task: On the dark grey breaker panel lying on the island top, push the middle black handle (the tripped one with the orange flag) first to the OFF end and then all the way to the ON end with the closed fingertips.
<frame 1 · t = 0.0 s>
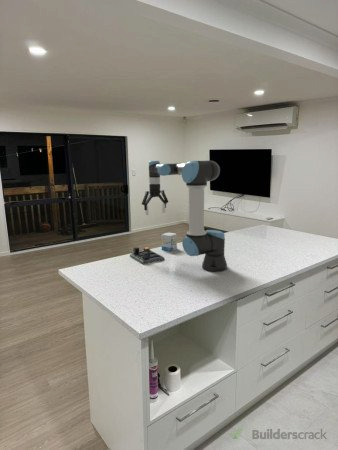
hand: (155, 213, 223), 28 cm above the counter, fingers open, 13 cm apart
ink box: (169, 249, 236), on the counter
panel: (146, 258, 215), on the counter
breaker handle: (146, 251, 214), point 5 cm above the counter, slide at 0.0 cm
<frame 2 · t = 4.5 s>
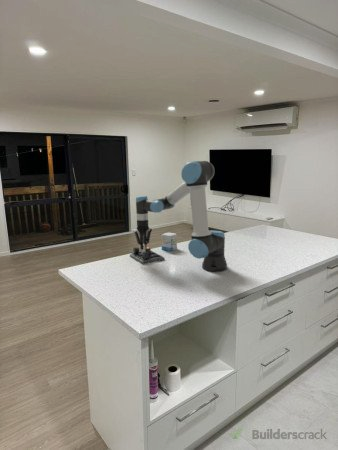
hand: (143, 253, 213), 4 cm above the counter, fingers closed
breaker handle: (147, 251, 214), point 5 cm above the counter, slide at -0.6 cm, touching gripper
everything else where it was.
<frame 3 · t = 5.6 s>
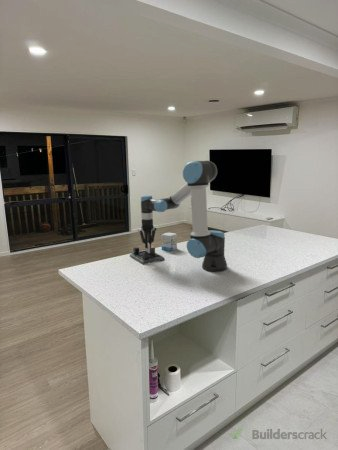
hand: (148, 252, 215), 4 cm above the counter, fingers closed
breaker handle: (152, 250, 216), point 5 cm above the counter, slide at -4.1 cm, touching gripper
everything else where it was.
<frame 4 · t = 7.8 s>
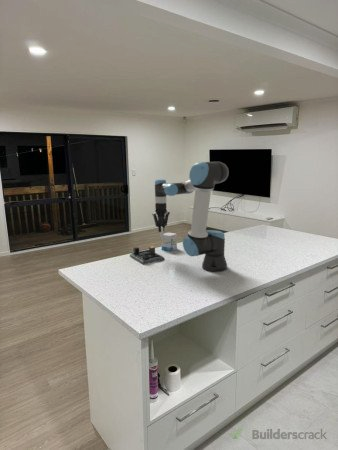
hand: (161, 236, 218), 13 cm above the counter, fingers closed
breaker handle: (152, 250, 216), point 5 cm above the counter, slide at -4.1 cm
everything else where it was.
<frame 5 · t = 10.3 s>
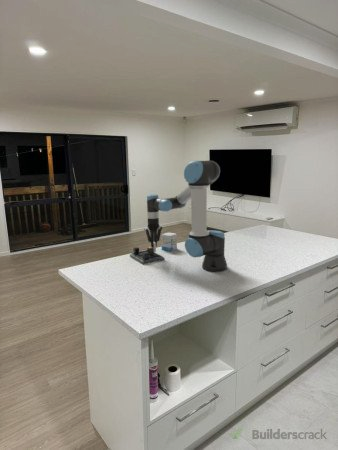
hand: (154, 251, 217), 4 cm above the counter, fingers closed
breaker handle: (150, 251, 216), point 5 cm above the counter, slide at -2.8 cm, touching gripper
everything else where it was.
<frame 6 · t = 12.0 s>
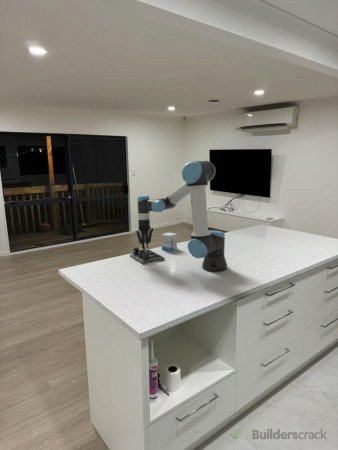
hand: (145, 253, 214), 4 cm above the counter, fingers closed
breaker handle: (141, 252, 212), point 5 cm above the counter, slide at 4.1 cm, touching gripper
everything else where it was.
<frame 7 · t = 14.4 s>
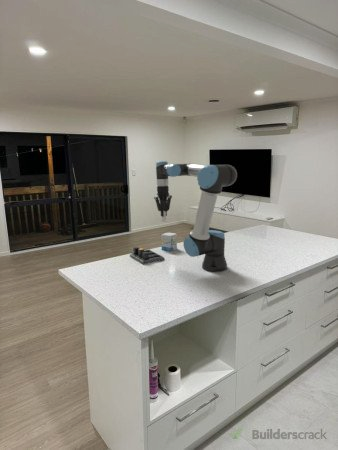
hand: (164, 221, 210), 25 cm above the counter, fingers closed
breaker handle: (141, 252, 212), point 5 cm above the counter, slide at 4.1 cm
everything else where it was.
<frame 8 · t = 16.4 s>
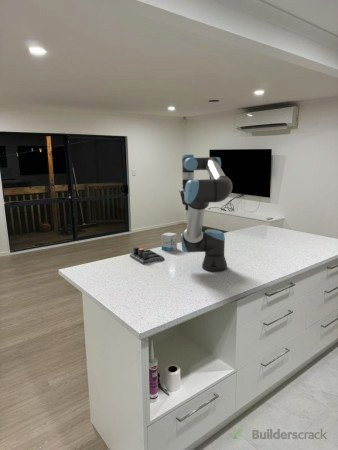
hand: (188, 215, 208), 29 cm above the counter, fingers closed
nothing on the counter moved.
at the end: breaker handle slide at 4.1 cm; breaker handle touching nothing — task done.
